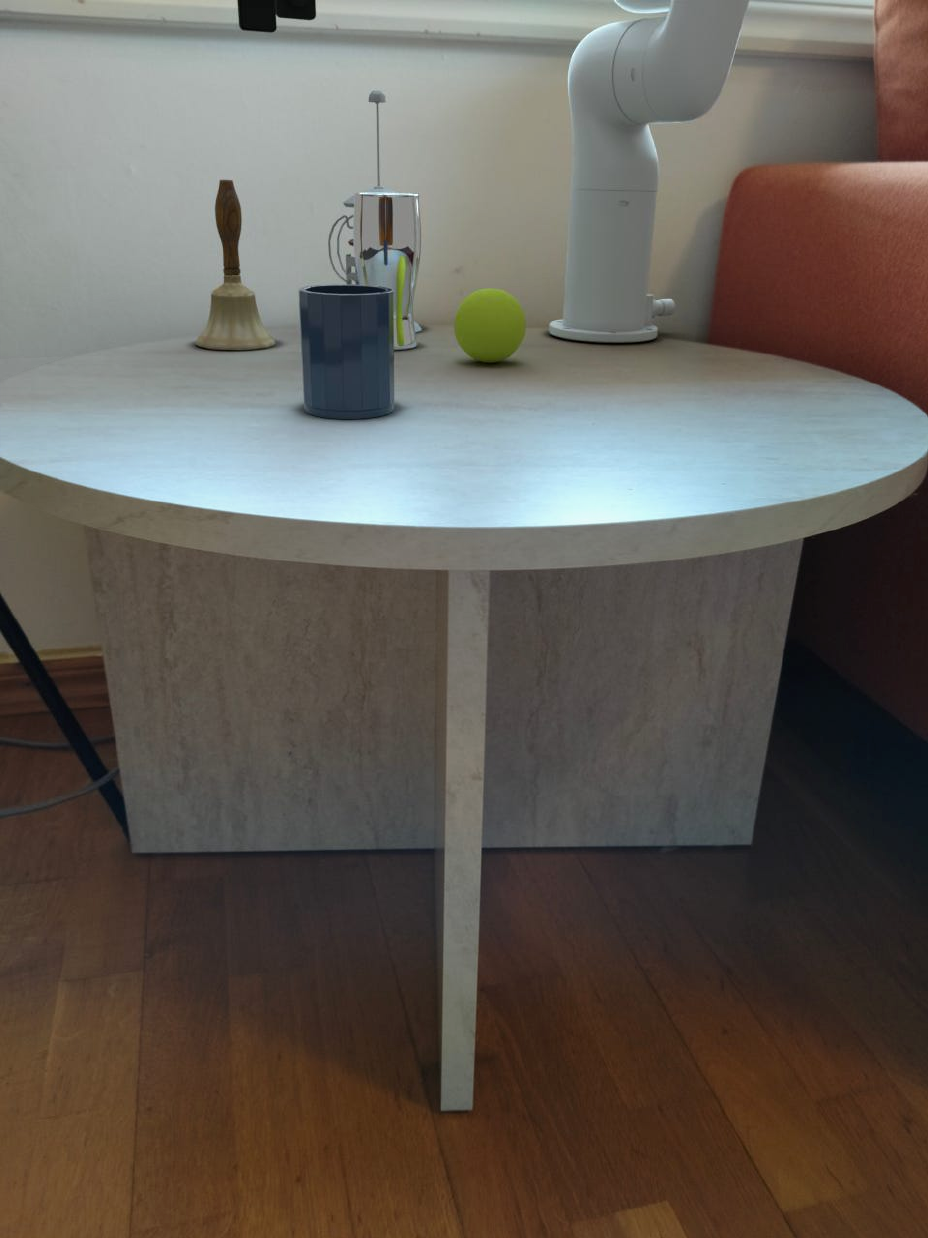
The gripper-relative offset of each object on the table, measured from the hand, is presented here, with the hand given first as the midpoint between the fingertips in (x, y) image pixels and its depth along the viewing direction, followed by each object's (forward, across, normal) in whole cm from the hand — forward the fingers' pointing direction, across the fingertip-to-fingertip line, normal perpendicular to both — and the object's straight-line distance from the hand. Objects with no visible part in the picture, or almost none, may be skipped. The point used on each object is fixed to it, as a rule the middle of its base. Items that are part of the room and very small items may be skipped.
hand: (276, 24), depth 82 cm
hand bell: (+28, +15, +1) cm, 32 cm away
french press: (+28, +20, -17) cm, 39 cm away
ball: (+24, -4, -19) cm, 31 cm away
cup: (+28, -19, +2) cm, 34 cm away
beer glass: (+28, +8, -13) cm, 32 cm away
